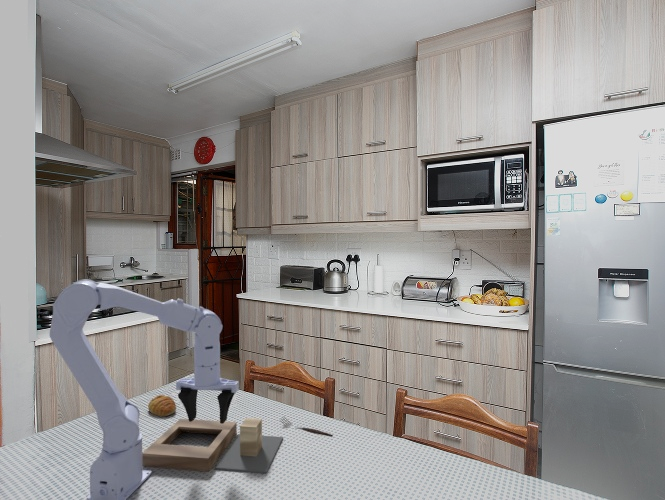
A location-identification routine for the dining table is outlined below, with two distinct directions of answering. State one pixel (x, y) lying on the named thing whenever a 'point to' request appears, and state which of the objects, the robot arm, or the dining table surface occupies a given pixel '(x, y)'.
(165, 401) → the pastry
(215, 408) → the dining table surface
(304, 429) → the fork
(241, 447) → the block
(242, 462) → the mat
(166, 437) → the wooden square frame
